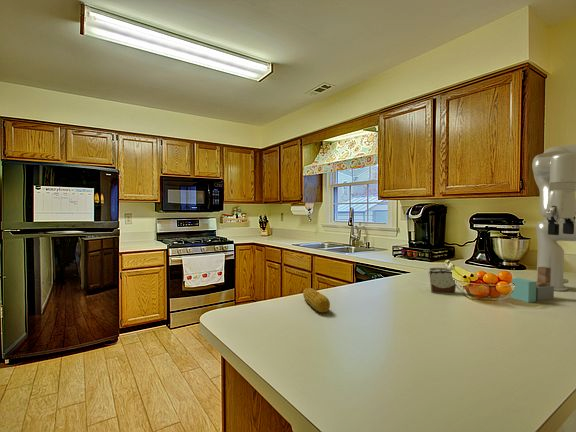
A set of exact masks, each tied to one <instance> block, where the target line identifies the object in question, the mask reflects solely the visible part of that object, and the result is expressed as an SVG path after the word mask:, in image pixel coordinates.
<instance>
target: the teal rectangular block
mask: <svg viewBox="0 0 576 432" xmlns="http://www.w3.org/2000/svg"><path fill="white" fill-rule="evenodd" d="M536 281H537V280H536ZM536 281H535V280H530V279H525V278H521V277H513V278H512V283H514V284H515V287H514V291H513V293H512V295H511V294H510V298H511V299H515V300H517V301H522V302H525V303H535V302H536V301H537V300H536Z"/></svg>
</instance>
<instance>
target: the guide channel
mask: <svg viewBox="0 0 576 432" xmlns="http://www.w3.org/2000/svg"><path fill="white" fill-rule="evenodd" d="M554 294H555V290H554V286H542V287H536V301H537V302H538V301H548V300H549V301H550V300H555V299H554V298H555V295H554Z"/></svg>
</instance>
